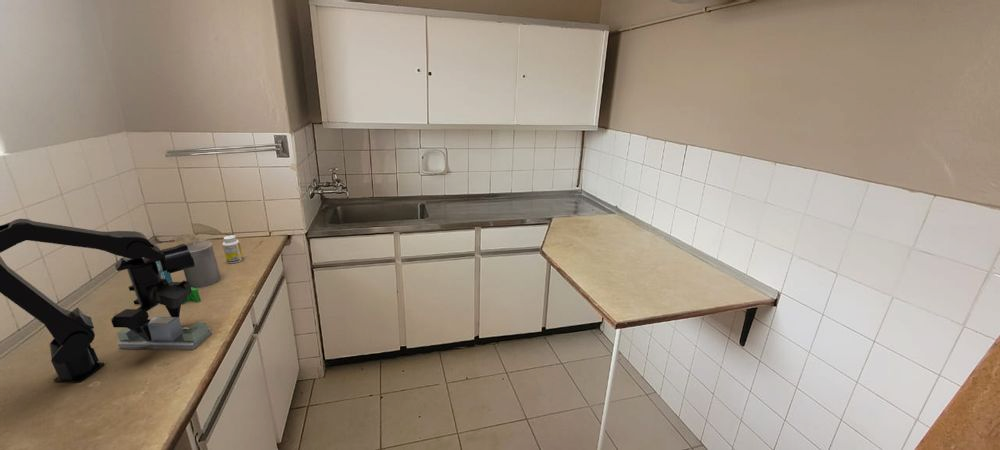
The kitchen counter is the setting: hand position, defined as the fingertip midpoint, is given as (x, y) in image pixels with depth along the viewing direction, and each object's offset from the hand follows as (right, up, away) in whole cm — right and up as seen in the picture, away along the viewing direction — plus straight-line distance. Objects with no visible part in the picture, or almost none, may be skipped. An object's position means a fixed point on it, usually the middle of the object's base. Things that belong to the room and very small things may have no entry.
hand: (163, 330), depth 108 cm
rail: (0, -3, +1) cm, 4 cm away
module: (0, -2, +1) cm, 2 cm away
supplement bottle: (-13, +14, +49) cm, 53 cm away
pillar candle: (-13, +8, +33) cm, 37 cm away
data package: (-23, +5, +25) cm, 34 cm away
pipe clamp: (-12, +4, +22) cm, 25 cm away
